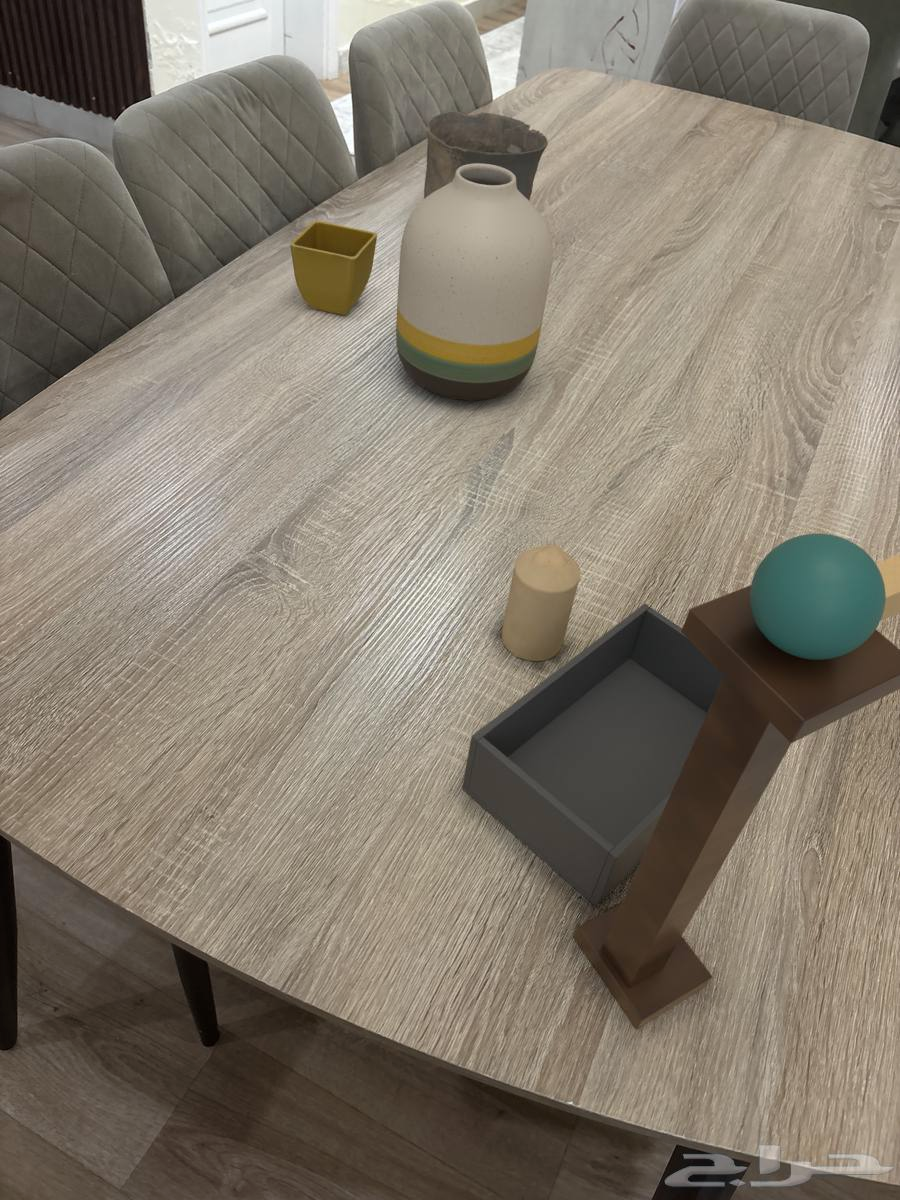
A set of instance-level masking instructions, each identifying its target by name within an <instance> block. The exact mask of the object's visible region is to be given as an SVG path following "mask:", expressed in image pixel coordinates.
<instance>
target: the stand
mask: <svg viewBox="0 0 900 1200" xmlns="http://www.w3.org/2000/svg"><path fill="white" fill-rule="evenodd" d="M750 591H751V584H750V585H747V586H744V587H742V588H740V589H737V590H734V591H731V592H729V593H727V594H725V595H721V596H718V597H717V598H714V599H712V600H709V601H707V602H704V603H702V604H699V605H696V606H694V607H691V608H690V609H689V610H688V612H687V615H686V618H685V620H684V623H683V626H682V627H681V628H682V631H681V632H682V633H683V634H684V635H685V636H686V637H687V638H688V639H689V640H690V641H691V642H692V643H693V644H694V645H695V646H696V647H697V648H698V649H699V650H700V651H701V652H702V653H703V654H704V655H705V657H706V658H707V659H708V660H709V661H710V662H711V663H712V664H713V665H714V666H715V667H716V668H717V669H718V670H719V671H720V672H721V673H722V674H723V675H724V677H723V679H722V681H721V684H720V686H719V688H718V690H717V692H716V695H715V697H714V699H713V701H712V704H711V706H710V708H709V710H708V712H707V715H706V717H705V719H704V721H703V723H702V726H701V728H700V730H699V732H698V735H697V737H696V739H695V741H694V743H693V746H692V748H691V750H690V752H689V755H688V757H687V759H686V761H685V763H684V766H683V768H682V770H681V772H680V775H679V777H678V779H677V781H676V783H675V786H674V788H673V790H672V792H671V795H670V797H669V799H668V801H667V803H666V806H665V808H664V810H663V812H662V815H661V817H660V819H659V821H658V823H657V826H656V828H655V830H654V832H653V835H652V837H651V839H650V841H649V843H648V846H647V848H646V850H645V852H644V855H643V857H642V859H641V861H640V863H639V864H638V865H637V867H636V870H635V872H634V875H633V876H632V879H631V882H630V883H629V886H628V888H627V890H626V892H625V894H624V897H623V898H622V901H621V903H619V904H616V905H615V906H613V907H611V908H610V909H607V910H606V911H604V912H602V913H600V914H598V915H596V916H595V917H593V918H591V919H589V920H587V921H585V922H583V923H582V924H580V925H578V926H577V927H576V929H575V931H574V935H573V939H574V940H575V942H576V943H577V945H578V946H579V948H580V949H581V951H582V952H583V953H584V955H585V956H586V958H587V959H588V961H589V962H590V964H591V966H592V967H593V968H594V970H595V972H597V974H598V975H599V977H600V978H601V980H602V981H603V983H604V984H605V986H606V987H607V989H608V990H609V991H610V993H611V994H612V996H613V997H614V999H615V1000H616V1002H617V1003H618V1004H619V1005H618V1006H619V1007H620V1008H621V1010H622V1011H623V1012H624V1013H625V1015H626V1016H627V1018H628V1019H629V1021H630V1022H631V1024H632V1025H633V1027H634V1028H635V1030H639V1029H640V1028H642V1027H644V1026H645V1025H647V1024H648V1023H650V1022H652V1021H653V1020H654V1019H656V1018H658V1017H659V1016H661V1015H663V1014H664V1013H666V1012H667V1011H669V1010H671V1009H672V1008H673V1007H676V1006H677V1005H679V1004H681V1003H682V1002H683V1001H685V1000H687V999H688V998H690V997H692V996H693V995H695V994H697V993H698V992H700V991H701V990H703V989H704V988H706V987H707V986H708V984H709V983H710V981H711V980H712V978H713V975H712V974H711V973H710V971H709V970H708V969H707V967H706V966H705V965H704V964H703V962H702V961H701V960H700V958H699V957H698V956H697V954H696V953H695V952H694V950H693V949H692V948H691V946H690V945H689V944H688V943H687V941H686V940H685V938H684V937H683V935H684V933H685V931H686V930H687V929H688V926H689V924H690V922H691V921H692V919H693V918H694V916H695V914H696V912H697V910H698V909H699V907H700V905H701V903H702V902H703V900H704V898H705V897H706V895H707V893H708V891H709V890H710V888H711V886H712V884H713V882H714V880H715V879H716V878H717V875H718V873H719V872H720V870H721V868H722V866H724V865H723V864H724V863H725V861H726V859H727V858H728V856H729V854H730V852H731V850H732V849H733V847H734V845H735V844H736V842H737V840H738V838H739V837H740V835H741V833H742V831H743V830H744V828H745V826H746V824H747V823H748V821H749V819H750V818H751V816H752V814H753V812H754V810H755V808H756V807H757V805H758V803H759V801H760V799H761V798H762V796H763V794H764V793H765V791H766V789H767V787H768V786H769V784H770V782H771V781H772V779H773V777H774V776H775V774H776V772H777V770H778V768H779V766H780V764H781V763H782V761H783V759H784V757H785V756H786V754H787V752H788V750H789V749H790V747H791V745H792V744H793V743H795V742H797V741H799V740H801V739H804V738H805V737H807V736H809V735H811V734H813V733H815V732H818V731H819V730H821V729H823V728H825V727H827V726H829V725H831V724H833V723H835V722H837V721H839V720H841V719H843V718H845V717H848V716H849V715H851V714H853V713H855V712H857V711H859V710H861V709H863V708H865V707H867V706H869V705H871V704H873V703H875V702H877V701H878V700H881V699H883V698H884V697H887V696H889V695H891V694H893V693H895V692H897V691H899V690H900V648H899V647H898V646H897V645H895V644H894V643H893V642H892V641H890V640H889V639H888V638H887V637H886V636H885V635H883V634H882V633H881V632H880V631H879V630H877V629H876V630H875V631H874V632H873V634H872V635H871V636H870V637H869V638H868V639H867V640H866V641H865V642H864V643H863V644H862V645H861V646H859V647H858V648H856V649H855V650H853V651H851V652H849V653H847V654H845V655H842V656H839V657H835V658H831V659H823V660H812V659H805V658H800V657H797V656H794V655H791V654H789V653H787V652H784V651H783V650H781V649H779V648H778V647H776V646H775V645H774V644H772V643H771V642H770V641H769V640H768V639H767V638H766V637H765V635H764V634H763V633H762V632H761V630H760V629H759V627H758V625H757V623H756V621H755V619H754V617H753V613H752V609H751V604H750Z"/></svg>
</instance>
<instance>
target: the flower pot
mask: <svg viewBox="0 0 900 1200" xmlns="http://www.w3.org/2000/svg"><path fill="white" fill-rule="evenodd" d="M377 240H378V233H377V232H373V231H370V230H364V229H359V228H354V227H350V226H345V225H340V224H335V223H331V222H326V221H321V220H314V221H313V222H312V223H310V224H309V225H308V226H307V227H306V228H304V229H303V231H302V232H301V233H299V235H298V236H296V237H295V238H294V239H293V240H292V241H291V242H290V245H289V247H290V253H291V261H292V266H293V267H292V269H293V273H294V280H295V283H296V286H297V289H298V291H299V293H300V295H301V296H302V298H303V300H304V301H305V303H306V304H307V305H308V306H309V308H311V309H314V310H319V311H324V312H328V313H333V314H337V315H342V316H345V315H347V314H348V313H349V312H350V310H351V309H352V308H353V307H354V305H355V304H357V302H358V301H359V299H360V298H361V296H362V294H363V292H364V290H365V289H366V287H367V285H368V282H369V280H370V277H371V275H372V270H373V265H374V259H375V253H376V252H375V251H376V246H377Z"/></svg>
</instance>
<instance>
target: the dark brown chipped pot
mask: <svg viewBox="0 0 900 1200" xmlns="http://www.w3.org/2000/svg"><path fill="white" fill-rule="evenodd" d="M530 128H531V124H526V123H525V121H522V120H520V119H516V118H513V117H508V116H505V115H503V114H495V113H491V112H479V113H474V114H469V113H462V112H461V111H448V112H444V113H440V114H437V115H435V116H433V117H431V118H430V120H429V121H428V123H427V126H426V134H427V145H426V146H427V147H426V168H425V169H426V170H425V179H424V185H423V186H424V187H423V188H424V189H423V199H425V198H426V197H427V196H429V195H430V194H431V193H433V192H435V191H436V190H438V189H440V188H442V187H444V186H446V185H447V184H449V183H451V182H452V181H453V179H454V177H455V173H456V170H457V169H458V168H459V167H461V166H463V165H467V164H476V163H480V164H490V165H495V166H499V167H502V168H505V169H507V170H509V171H511V172H512V173H513V174H514V175H515V177H516V186H517V190H518V191H519V192H520V193H521V194H522V195H523V196H524V197H526V198H527V199H528V200H529V201H530V200H531V196H532V193H533V186H534V181H535V177H536V175H537V172H538V168H539V164H540V162H541V158H542V156H543V154H544V152H545V150H546V149H547V147H548V145H549V141H548V139H547V137H546V135H544V134H543V133H542V132H540V130H536V129H534V128H533V129H530ZM530 202H531V201H530Z"/></svg>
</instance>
